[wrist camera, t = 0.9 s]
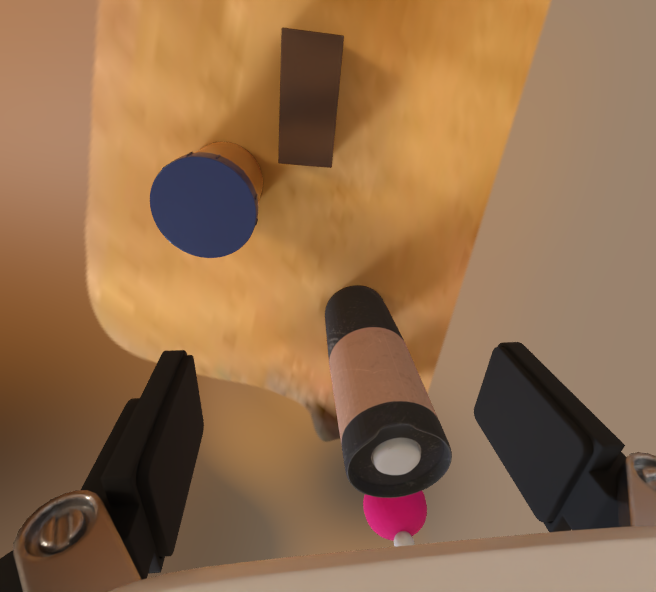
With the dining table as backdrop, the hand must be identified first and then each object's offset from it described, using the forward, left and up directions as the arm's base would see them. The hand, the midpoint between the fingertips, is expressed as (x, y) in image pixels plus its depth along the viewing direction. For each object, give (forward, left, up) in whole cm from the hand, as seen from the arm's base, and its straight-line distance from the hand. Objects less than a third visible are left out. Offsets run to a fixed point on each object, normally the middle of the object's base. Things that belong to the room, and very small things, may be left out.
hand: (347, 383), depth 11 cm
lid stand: (-7, -1, -27) cm, 28 cm away
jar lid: (0, -8, -17) cm, 19 cm away
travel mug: (+14, +6, -27) cm, 31 cm away
